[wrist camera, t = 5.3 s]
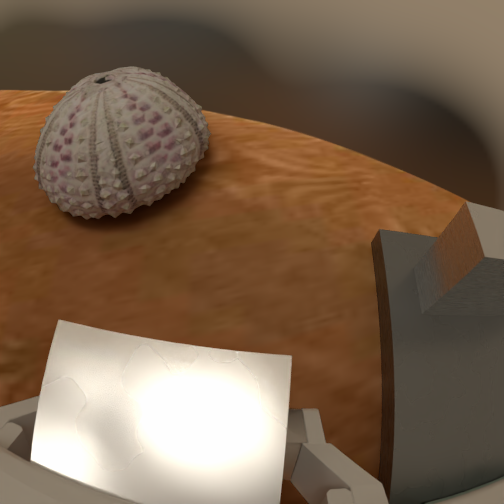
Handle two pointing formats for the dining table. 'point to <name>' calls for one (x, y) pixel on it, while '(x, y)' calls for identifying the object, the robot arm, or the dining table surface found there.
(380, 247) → the vise
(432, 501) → the sliding jaw
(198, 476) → the block
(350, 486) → the robot arm
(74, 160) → the sea urchin shell
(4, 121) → the dining table surface
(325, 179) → the dining table surface
